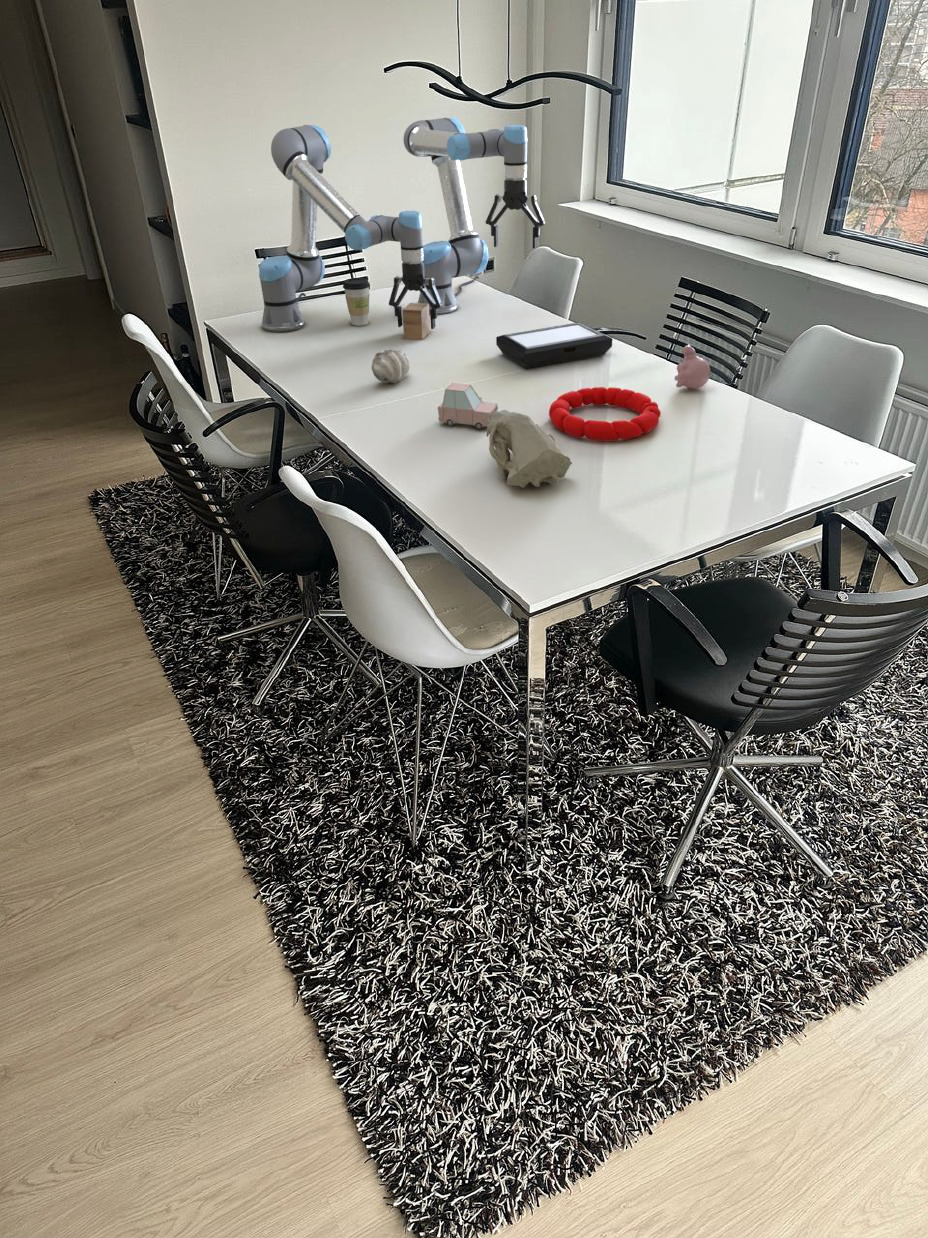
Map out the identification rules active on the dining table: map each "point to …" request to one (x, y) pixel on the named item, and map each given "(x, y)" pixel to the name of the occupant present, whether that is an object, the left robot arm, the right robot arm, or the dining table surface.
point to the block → (416, 321)
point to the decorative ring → (604, 428)
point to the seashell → (390, 366)
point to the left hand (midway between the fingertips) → (416, 326)
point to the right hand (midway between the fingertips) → (515, 246)
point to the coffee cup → (357, 300)
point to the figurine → (692, 370)
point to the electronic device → (553, 344)
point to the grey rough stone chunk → (525, 450)
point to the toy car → (465, 406)
